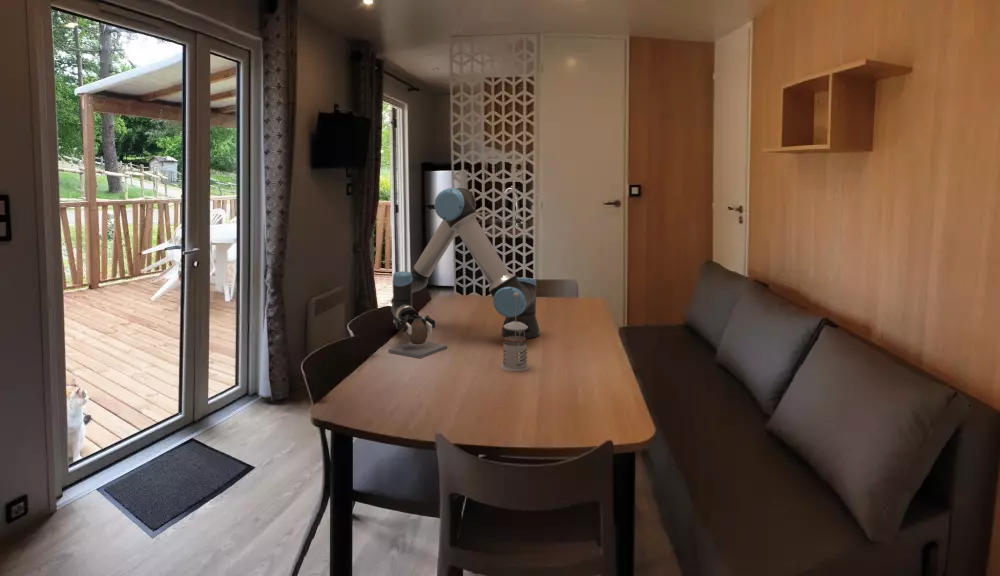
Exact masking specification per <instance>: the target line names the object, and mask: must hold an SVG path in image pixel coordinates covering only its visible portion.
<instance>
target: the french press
mask: <svg viewBox="0 0 1000 576" xmlns="http://www.w3.org/2000/svg"><path fill="white" fill-rule="evenodd" d="M513 296H515V297H518V296H519V294H518V293H514V294H513ZM502 327H504V328H505V329H507V330H513V331H515V336H509V337H506V336H504V341H503V343H502V345H503V347H502V348H503V349H502V351H503V353H502V354H503V356H502V360H503V361H502V364H501V365H500V366H499V368H500V369H501V370H504V371H508V372H524V371H528V370H529V369H530V365H528V363H527V362H528V359H527V358H528V356H527V355H528V348H527V347H528V343H527V338H525V333H524V337H522V336H516V331H517V332H518V331H519V334H520V333H521V332H522V330H523V331H524V330H526V329H527V328H528V326H527V325H525V324H524V323H521V322H517V321H516V309H515V321H514V322H510V323H507V324H505V325H504V326H503V325H502ZM520 331H521V332H520Z"/></svg>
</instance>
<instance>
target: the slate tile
mask: <svg viewBox="0 0 1000 576" xmlns="http://www.w3.org/2000/svg"><path fill="white" fill-rule="evenodd" d="M447 349H448V345H447V344H441V343H435V342H430V341H425V342H424V343H423V344H412V343H411V342H410V341H409V342H406V343H403V344H400V345H398V346H394V347H391V348H389V349H388V353H389V354H395V355H399V356H404V355H406V356H405V357H409V356H410V357H409V358H414V357H415V358H416V359H422V358H426V357H428V356H430V355H433V353H434V354H437V353H439V352H441V351H444V350H447ZM425 356H426V357H425Z"/></svg>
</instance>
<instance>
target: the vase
mask: <svg viewBox="0 0 1000 576" xmlns="http://www.w3.org/2000/svg"><path fill="white" fill-rule="evenodd" d="M411 326H412V334H409V333H408V332H407V336H408V339H409V342H411V343H412V344H423V343H424V342H427V338H428V331H427V328H426V326H425V325H424V323H423V322H422V320H421V319H414V322H413V323H412V324H411Z"/></svg>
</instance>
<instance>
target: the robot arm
mask: <svg viewBox="0 0 1000 576" xmlns="http://www.w3.org/2000/svg"><path fill="white" fill-rule="evenodd" d="M476 207H477V203H476V197H475V195H474V194H473V193H472V192H471V191H470V190H469V189H467V188H463V187H457V188H455V187H448V188H446V189H443V190H442V191H440V192H439V193H438V194H437V196H436V197H435V200H434V211H435V213H436V215H437V216H438V217H439V219H442V220H441V222H440V224H439V225H438V227H437V228H436V231H435V232H434V234H433V235H432V237H431V239H430V240H429V242H428V244H427V245H426V247H424V249H423V252H422V253H421V254H420V257H419V258H418V259H417V261H416V263H415V264H414V266H413V268H412V269H411V271H405V270H404V271H395V272H394V273H393V275H392V297H393V298H392V299H393V300H392V305H391V314H392V315H393V318H392V321H393V323H392V324H393V325H395V328H396V330H397V331H400V330H402V332H403V333H405V332H406V333H407V334H408V333H409V334H412V326H411V324H412V323H413V322H414V319H421V320H422V322H423V323H424V325H425V326H426V328H427V333H428V332H429V334H433V329H435V328H436V320H434V319H432V318H431V317H430V316H429V315H425V316H424V317H422V316H420V314H419V313H418V311H417V310H416V309H415V308H413V293H416V292H419V291H422V290H424V289H425V288H426V287H427V285H428V282H429V278H430V276H431V275H432V273H433V272H434V270H435V269H436V267H437V266H438V264H439V262H440V261H441V259H442V257H443V256H444V255H445V252H446V251H447V249H448V248H449V246H450V245H451V243H452V242H453V240H454V238H455V237H456V235H457V234H458V235H459V237H460V239H461V240H462V242H463V244H464V245H465V247H466V248H467V250H468V252H469V253H470V255H471V256H472V258H473V260H474V262H475V263H476V265H477V266H478V267H479V269H480V271H481V273H482V275H483V276H484V278H485V279H486V281H487V283H488V285H489V289H488V291H489V292H488V293H490V295H491V297H492V298H493V299H492V300H493V301H492V304H493V307H494V310H495V311H496V312H497V313H498V314H499V315H501V316H503V317H504V322H503V325H502V327H501V335H502V336H503V337H509V336H515V331H513V330H507V329H505V328H504V327H503V326H504V325H505V324H507V323H510V322H514V321H515V309H516V321H517V322H521V323H524V324H525V325H527V326H528V328H527V329H526V330H524V331H523V330H522V332H521V331H520V332H521V333H520V334H519V331H518V332H517V331H516V336H522V337H524V333H525V338H526V339H533V337H534V338H537V337H539V336H540V334H541V333H540V332H541V331H540V326H539V323H538V319H537V317H536V313H537V312H536V309H537V287H538V286H537V280H536V279H535V278H531V277H519V276H516V274H513V273H510V272H509V271H508V269H507V267H506V265H505V264H504V262H503V261H502V258H501V257H500V256H499V254H498V252H497V251H496V249H495V247H494V245H493V244H492V243H491V241H490V239H489V238H488V236H487V234H486V232H485V231H484V230H483V228H482V226H481V225H480V223H479V222H478V220H477V215H478V212H477V211H476ZM514 293H518V294H519V296H518V297H515V296H513V294H514ZM538 335H539V336H538ZM536 336H537V337H536Z"/></svg>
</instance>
